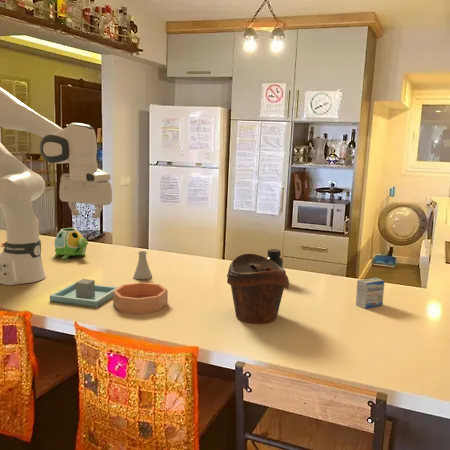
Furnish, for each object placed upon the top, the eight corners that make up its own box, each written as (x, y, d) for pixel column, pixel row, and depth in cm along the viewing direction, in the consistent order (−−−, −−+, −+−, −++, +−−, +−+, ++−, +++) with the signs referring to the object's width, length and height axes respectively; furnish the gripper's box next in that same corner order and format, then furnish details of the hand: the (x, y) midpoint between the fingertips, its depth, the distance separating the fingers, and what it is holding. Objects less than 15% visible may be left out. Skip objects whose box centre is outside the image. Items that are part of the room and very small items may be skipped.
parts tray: (49, 301, 161) (49, 295, 161) (75, 287, 175) (75, 282, 175) (96, 307, 156) (96, 301, 156) (119, 293, 171) (119, 287, 170)
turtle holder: (73, 263, 207) (72, 235, 204) (48, 255, 218) (47, 229, 215) (97, 257, 216) (97, 230, 214) (73, 250, 227) (72, 225, 225)
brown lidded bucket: (273, 333, 139) (275, 271, 136) (213, 318, 150) (214, 260, 147) (298, 315, 154) (301, 259, 151) (243, 302, 165) (244, 250, 162)
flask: (148, 280, 185) (148, 254, 183) (130, 279, 186) (129, 253, 184) (154, 275, 192) (154, 250, 190) (137, 274, 193) (136, 249, 191)
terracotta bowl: (105, 309, 155) (105, 295, 154) (129, 293, 170) (129, 280, 169) (153, 315, 151) (153, 301, 150) (172, 299, 166) (172, 285, 165)
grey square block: (76, 297, 164) (75, 282, 163) (83, 293, 168) (82, 278, 167) (87, 298, 163) (87, 283, 162) (95, 294, 167) (94, 280, 166)
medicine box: (364, 309, 160) (366, 283, 159) (355, 304, 164) (357, 279, 163) (382, 305, 164) (385, 280, 162) (373, 301, 168) (375, 276, 166)
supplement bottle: (274, 285, 183) (276, 253, 181) (260, 281, 187) (261, 250, 185) (285, 281, 188) (287, 250, 186) (271, 277, 192) (272, 247, 190)
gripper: (53, 173, 162) (55, 215, 165) (100, 176, 153) (102, 221, 155) (68, 172, 168) (70, 212, 170) (114, 175, 158) (116, 218, 160)
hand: (85, 216), depth 163 cm, fingers open, 8 cm apart
